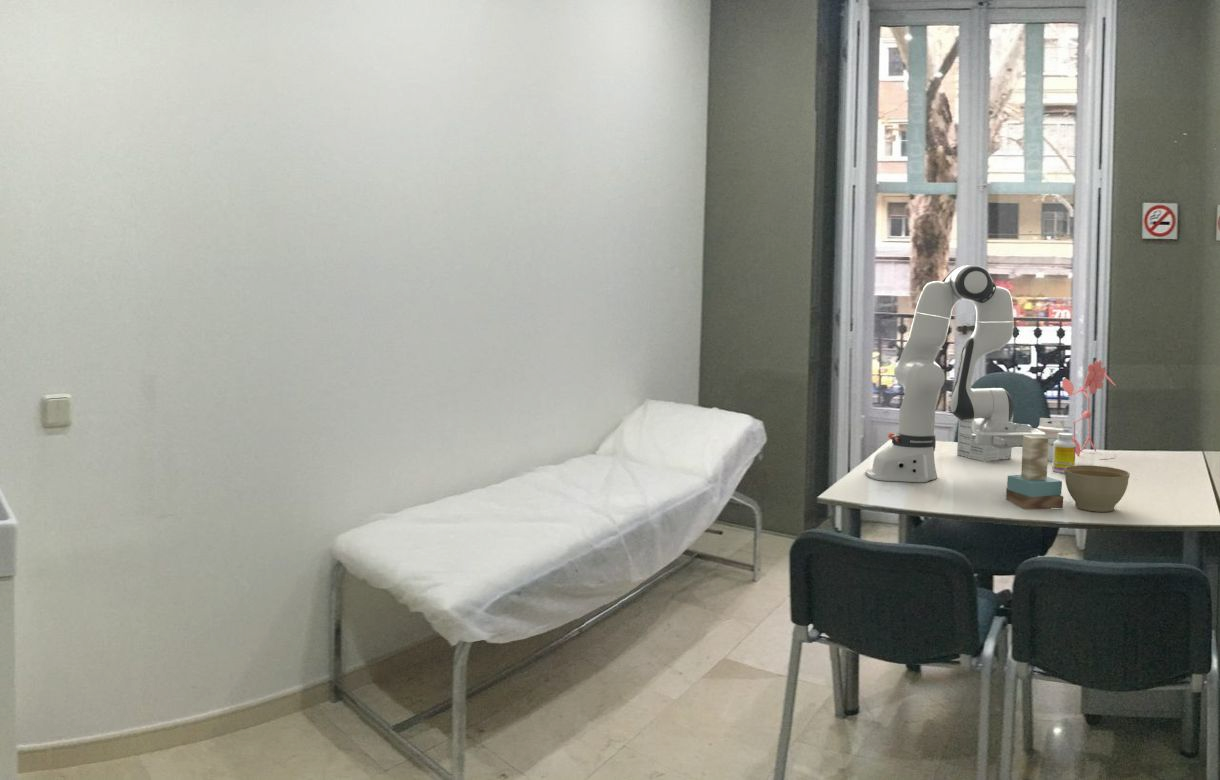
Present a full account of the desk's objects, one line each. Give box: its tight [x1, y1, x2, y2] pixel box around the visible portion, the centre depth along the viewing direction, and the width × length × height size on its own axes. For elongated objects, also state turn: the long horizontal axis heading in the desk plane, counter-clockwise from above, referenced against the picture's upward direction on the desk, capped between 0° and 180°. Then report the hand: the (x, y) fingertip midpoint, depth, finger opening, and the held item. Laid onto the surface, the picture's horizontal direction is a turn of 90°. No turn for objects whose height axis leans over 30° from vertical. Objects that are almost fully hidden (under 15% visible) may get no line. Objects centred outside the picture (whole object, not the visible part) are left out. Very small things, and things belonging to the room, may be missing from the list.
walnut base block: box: [1005, 488, 1064, 510], centre depth 256 cm, size 11×11×4 cm
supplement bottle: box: [1051, 432, 1076, 474], centre depth 298 cm, size 7×7×13 cm
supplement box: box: [956, 414, 1014, 462], centre depth 322 cm, size 13×13×18 cm
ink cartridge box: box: [1036, 417, 1065, 462], centre depth 316 cm, size 9×5×15 cm, turn 58°
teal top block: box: [1006, 474, 1063, 497], centre depth 255 cm, size 10×10×4 cm
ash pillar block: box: [1020, 435, 1048, 480], centre depth 254 cm, size 5×5×12 cm
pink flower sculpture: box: [1061, 359, 1117, 461], centre depth 322 cm, size 15×26×35 cm, turn 121°
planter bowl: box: [1064, 464, 1131, 513], centre depth 251 cm, size 16×16×11 cm
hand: (1020, 442), depth 264 cm, fingers open, 8 cm apart
